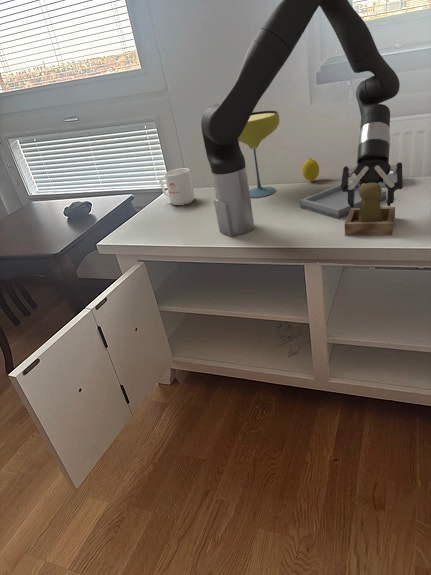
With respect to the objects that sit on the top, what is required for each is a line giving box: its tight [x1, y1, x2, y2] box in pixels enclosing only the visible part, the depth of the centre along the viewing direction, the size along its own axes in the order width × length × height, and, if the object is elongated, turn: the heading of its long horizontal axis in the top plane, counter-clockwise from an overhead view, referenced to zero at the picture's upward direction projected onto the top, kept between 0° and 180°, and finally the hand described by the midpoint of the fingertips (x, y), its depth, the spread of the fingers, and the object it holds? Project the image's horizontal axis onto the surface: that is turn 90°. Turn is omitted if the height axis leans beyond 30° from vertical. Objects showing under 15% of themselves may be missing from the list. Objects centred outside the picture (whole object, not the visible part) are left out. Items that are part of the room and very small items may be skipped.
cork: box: [357, 183, 384, 222], centre depth 106 cm, size 6×6×11 cm
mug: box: [158, 167, 196, 206], centre depth 154 cm, size 12×9×11 cm
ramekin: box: [378, 171, 397, 188], centre depth 134 cm, size 9×9×4 cm
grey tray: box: [299, 182, 387, 220], centre depth 125 cm, size 18×16×2 cm
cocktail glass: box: [238, 110, 280, 199], centre depth 143 cm, size 18×18×25 cm
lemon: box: [302, 158, 320, 182], centre depth 148 cm, size 6×6×8 cm
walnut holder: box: [344, 206, 396, 236], centre depth 108 cm, size 11×11×3 cm
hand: (370, 205), depth 105 cm, fingers open, 8 cm apart
